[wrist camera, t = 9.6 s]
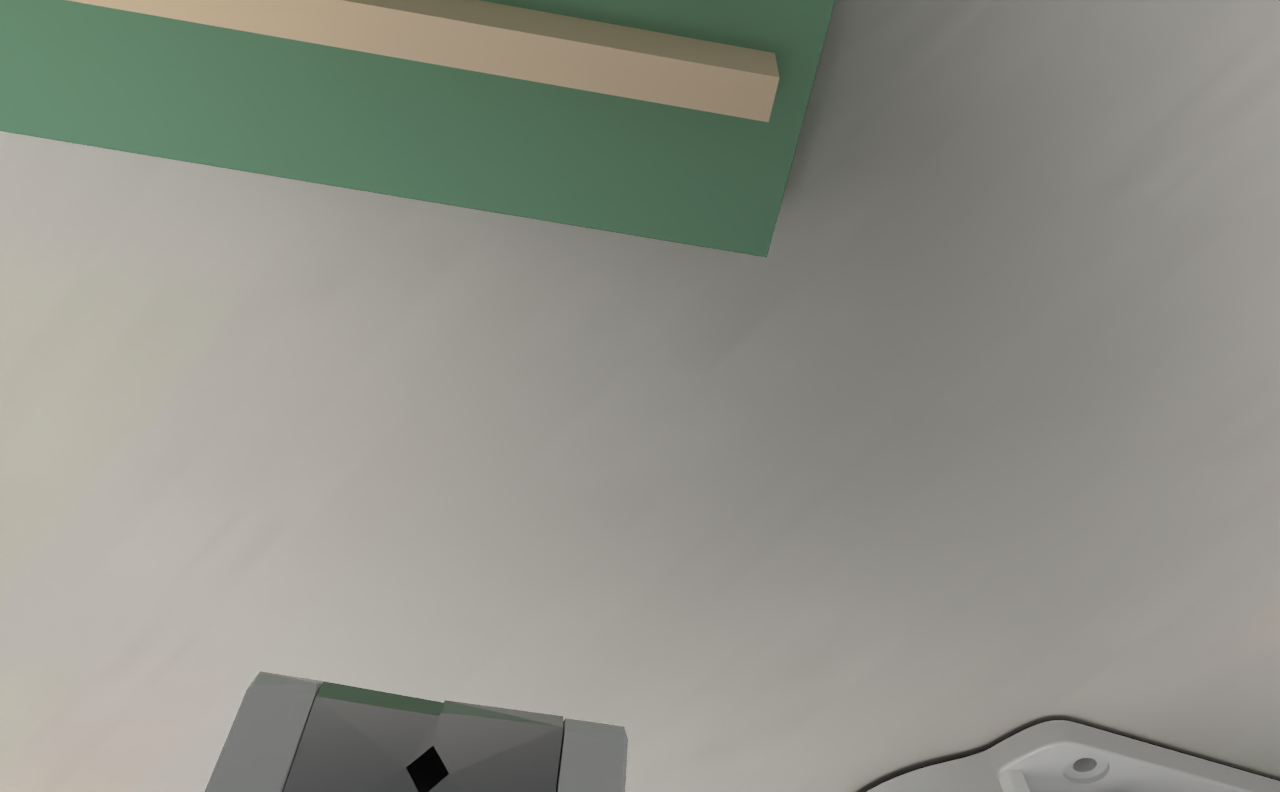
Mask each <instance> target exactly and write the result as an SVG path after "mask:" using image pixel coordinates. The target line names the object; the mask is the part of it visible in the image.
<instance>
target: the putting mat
mask: <svg viewBox="0 0 1280 792" xmlns="http://www.w3.org/2000/svg"><path fill="white" fill-rule="evenodd" d="M834 3H835V0H0V131H4V132H10V133H16V134H22V135H28V136H34V137H40V138H46V139H52V140H58V141H64V142H70V143H77V144H83V145H89V146H95V147H101V148H107V149H113V150H119V151H125V152H131V153H137V154H143V155H149V156H155V157H161V158H168V159H174V160H180V161H186V162H192V163H198V164H204V165H210V166H216V167H222V168H228V169H234V170H240V171H246V172H253V173H259V174H265V175H271V176H277V177H283V178H289V179H295V180H301V181H307V182H313V183H319V184H325V185H331V186H337V187H344V188H350V189H356V190H362V191H368V192H374V193H380V194H386V195H392V196H398V197H404V198H410V199H416V200H422V201H429V202H435V203H441V204H447V205H453V206H459V207H465V208H471V209H477V210H483V211H489V212H495V213H501V214H507V215H514V216H520V217H526V218H532V219H538V220H544V221H550V222H556V223H562V224H568V225H574V226H580V227H586V228H592V229H598V230H605V231H611V232H617V233H623V234H629V235H635V236H641V237H647V238H653V239H659V240H665V241H671V242H677V243H683V244H690V245H696V246H702V247H708V248H714V249H720V250H726V251H732V252H738V253H744V254H750V255H756V256H762V257H767V254H768V250H769V246H770V243H771V239H772V235H773V231H774V228H775V224H776V220H777V216H778V213H779V209H780V205H781V202H782V198H783V194H784V190H785V187H786V183H787V179H788V175H789V172H790V168H791V164H792V160H793V157H794V153H795V149H796V145H797V142H798V138H799V134H800V131H801V127H802V123H803V119H804V116H805V112H806V108H807V104H808V101H809V97H810V93H811V89H812V86H813V82H814V78H815V74H816V71H817V67H818V63H819V59H820V56H821V52H822V48H823V45H824V41H825V37H826V33H827V30H828V26H829V22H830V18H831V15H832V11H833V7H834Z"/></svg>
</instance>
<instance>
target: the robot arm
mask: <svg viewBox="0 0 1280 792" xmlns="http://www.w3.org/2000/svg"><path fill="white" fill-rule="evenodd" d="M627 745H628V738H627V735H626V732H625V729H624V727H622V726H615V725H608V724H601V723H594V722H587V721H580V720H573V719H565V720H564V721H563V716H556V715H549V714H541V713H534V712H526V711H519V710H512V709H504V708H497V707H490V706H482V705H475V704H467V703H460V702H453V701H445V702H444V703H441V702H436V701H430V700H424V699H419V698H413V697H407V696H402V695H396V694H391V693H385V692H379V691H374V690H368V689H362V688H357V687H351V686H345V685H340V684H334V683H328V682H323V681H317V680H310V679H304V678H298V677H291V676H285V675H279V674H273V673H266V672H260V673H259V674H258V675H257V677H256V678H255V679H254V681H253V682H252V683H251V685H250V686H249V687H248V689H247V691H246V694H245V696H244V698H243V701H242V703H241V706H240V708H239V710H238V713H237V715H236V718H235V720H234V722H233V725H232V727H231V730H230V732H229V735H228V737H227V739H226V742H225V744H224V747H223V749H222V751H221V754H220V756H219V759H218V761H217V764H216V766H215V768H214V771H213V773H212V776H211V778H210V780H209V783H208V785H207V788H206V790H205V792H625V781H626V763H627ZM867 792H1280V781H1277V780H1274V779H1270V778H1267V777H1263V776H1260V775H1256V774H1253V773H1249V772H1246V771H1242V770H1239V769H1235V768H1232V767H1228V766H1225V765H1221V764H1218V763H1215V762H1211V761H1208V760H1204V759H1201V758H1197V757H1194V756H1190V755H1187V754H1183V753H1180V752H1176V751H1173V750H1169V749H1166V748H1162V747H1159V746H1155V745H1152V744H1148V743H1145V742H1142V741H1138V740H1135V739H1131V738H1128V737H1124V736H1121V735H1117V734H1114V733H1110V732H1107V731H1103V730H1100V729H1096V728H1093V727H1089V726H1086V725H1082V724H1079V723H1075V722H1071V721H1065V720H1053V721H1047V722H1043V723H1040V724H1037V725H1034V726H1032V727H1029V728H1027V729H1025V730H1023V731H1021V732H1019V733H1017V734H1015V735H1013V736H1011V737H1009V738H1007V739H1005V740H1004V741H1002V742H1000V743H998V744H996V745H995V746H993V747H991V748H989V749H988V750H986V751H983V752H980V753H977V754H975V755H971V756H968V757H964V758H960V759H956V760H952V761H948V762H944V763H939V764H935V765H931V766H928V767H924V768H921V769H917V770H914V771H911V772H908V773H906V774H903V775H900V776H898V777H895V778H893V779H891V780H888V781H886V782H884V783H882V784H880V785H878V786H876V787H874V788H872V789H870V790H868V791H867Z"/></svg>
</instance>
